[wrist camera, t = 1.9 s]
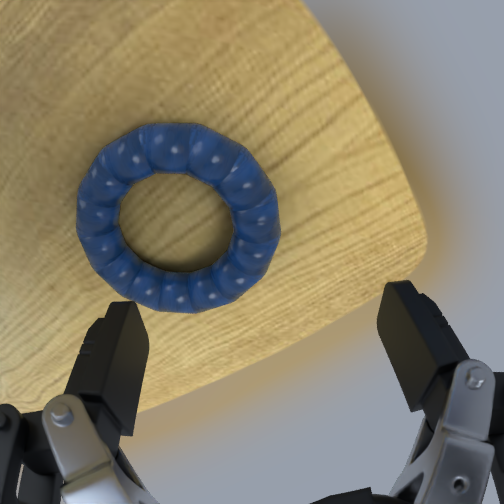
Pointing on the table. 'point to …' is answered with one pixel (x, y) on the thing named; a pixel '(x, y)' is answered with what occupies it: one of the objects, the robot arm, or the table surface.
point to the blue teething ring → (203, 169)
